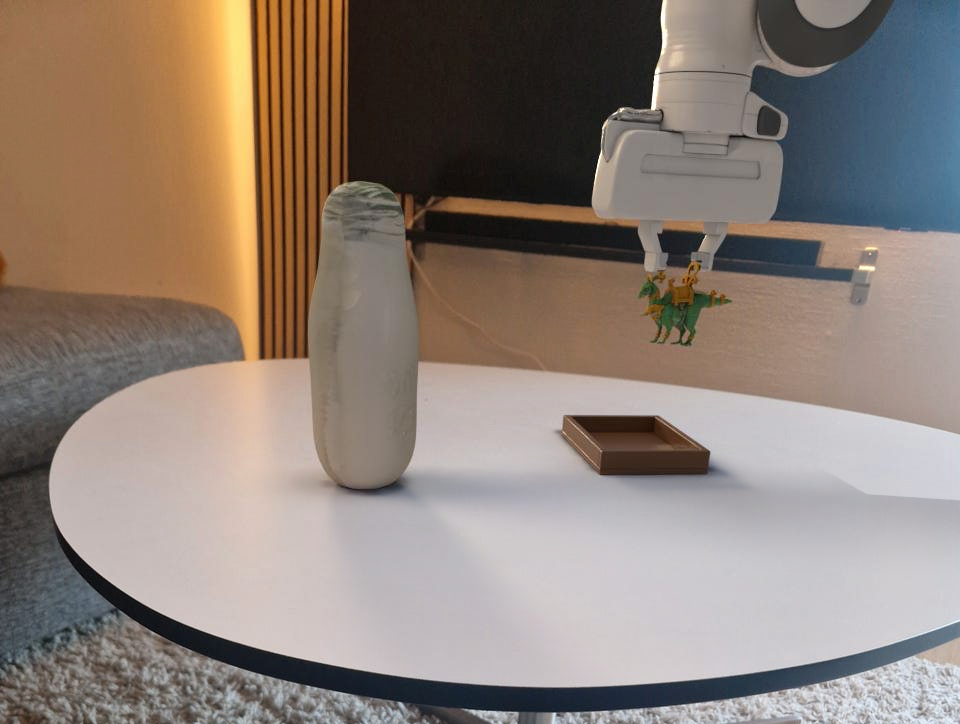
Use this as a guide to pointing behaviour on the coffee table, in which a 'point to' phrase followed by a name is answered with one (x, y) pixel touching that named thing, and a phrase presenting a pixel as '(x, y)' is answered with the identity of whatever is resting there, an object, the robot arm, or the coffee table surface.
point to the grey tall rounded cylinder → (363, 340)
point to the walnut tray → (634, 445)
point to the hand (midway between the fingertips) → (678, 271)
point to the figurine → (678, 304)
